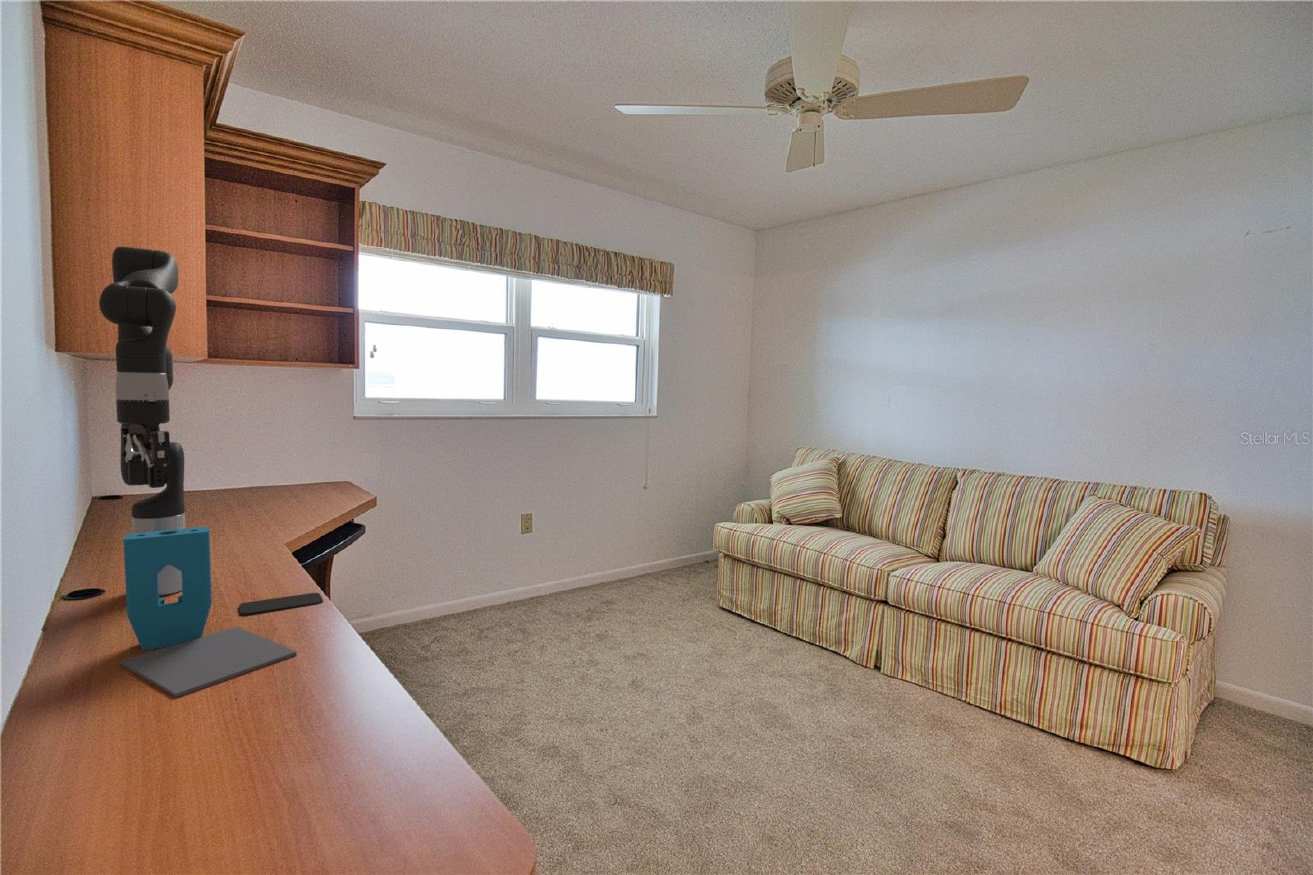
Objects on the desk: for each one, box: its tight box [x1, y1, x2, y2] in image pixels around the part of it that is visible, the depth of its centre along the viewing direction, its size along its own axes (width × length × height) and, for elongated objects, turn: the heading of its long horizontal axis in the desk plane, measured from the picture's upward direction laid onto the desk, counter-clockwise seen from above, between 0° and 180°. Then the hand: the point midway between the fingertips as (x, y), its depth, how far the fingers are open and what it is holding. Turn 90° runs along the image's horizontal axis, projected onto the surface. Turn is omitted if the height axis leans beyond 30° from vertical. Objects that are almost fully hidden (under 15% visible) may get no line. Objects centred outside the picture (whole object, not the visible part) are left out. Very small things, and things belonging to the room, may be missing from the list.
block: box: [123, 526, 213, 651], centre depth 113 cm, size 12×5×20 cm, turn 126°
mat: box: [119, 626, 298, 698], centre depth 106 cm, size 20×18×1 cm
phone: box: [238, 592, 324, 617], centre depth 133 cm, size 7×1×15 cm
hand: (146, 484), depth 116 cm, fingers open, 8 cm apart
